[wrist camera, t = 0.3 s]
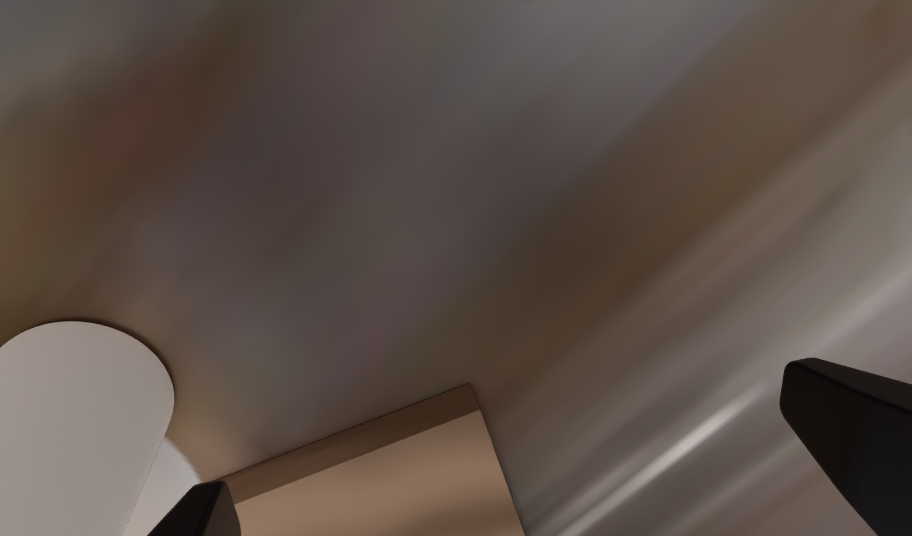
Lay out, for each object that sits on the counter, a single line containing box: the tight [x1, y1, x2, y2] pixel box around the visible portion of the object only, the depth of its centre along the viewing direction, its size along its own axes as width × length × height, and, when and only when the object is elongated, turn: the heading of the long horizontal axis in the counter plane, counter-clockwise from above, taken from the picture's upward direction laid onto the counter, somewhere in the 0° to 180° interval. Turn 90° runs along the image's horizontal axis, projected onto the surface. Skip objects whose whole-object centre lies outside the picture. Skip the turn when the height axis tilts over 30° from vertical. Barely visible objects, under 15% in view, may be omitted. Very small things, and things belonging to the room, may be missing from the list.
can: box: [0, 321, 174, 536], centre depth 17 cm, size 6×6×12 cm
